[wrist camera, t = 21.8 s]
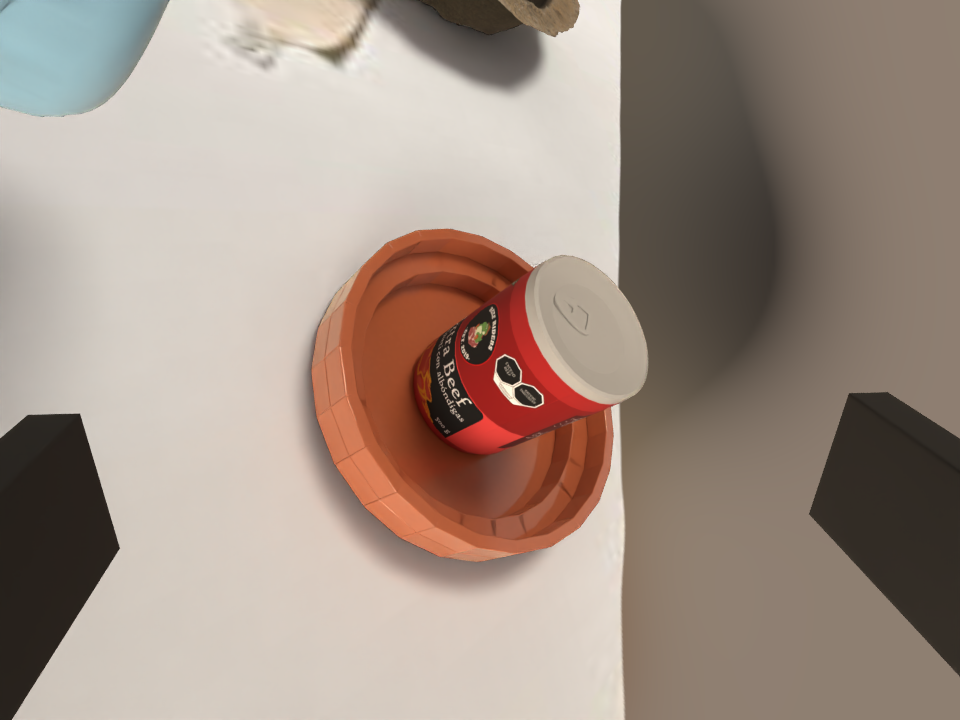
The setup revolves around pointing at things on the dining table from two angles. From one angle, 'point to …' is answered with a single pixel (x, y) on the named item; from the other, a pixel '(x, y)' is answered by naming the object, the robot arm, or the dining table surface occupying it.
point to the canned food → (532, 359)
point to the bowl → (405, 435)
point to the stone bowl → (509, 14)
